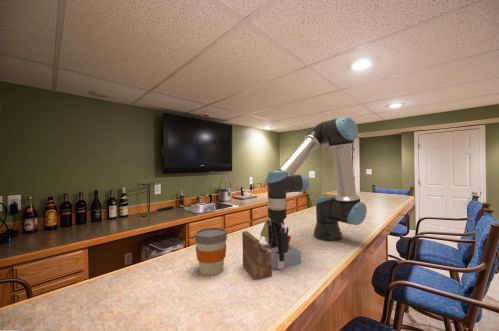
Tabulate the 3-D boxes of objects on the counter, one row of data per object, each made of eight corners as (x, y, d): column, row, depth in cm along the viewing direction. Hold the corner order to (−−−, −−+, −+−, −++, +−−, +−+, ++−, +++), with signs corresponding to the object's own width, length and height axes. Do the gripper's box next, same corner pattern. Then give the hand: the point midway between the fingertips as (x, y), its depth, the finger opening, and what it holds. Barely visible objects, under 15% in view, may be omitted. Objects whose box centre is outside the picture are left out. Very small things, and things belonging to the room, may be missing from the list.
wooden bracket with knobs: (258, 262, 89) (257, 229, 89) (271, 276, 78) (271, 238, 78) (242, 265, 86) (242, 231, 86) (254, 280, 75) (253, 240, 75)
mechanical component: (287, 264, 101) (303, 226, 100) (254, 247, 104) (269, 211, 103) (287, 257, 109) (302, 222, 107) (256, 242, 112) (271, 208, 111)
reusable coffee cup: (232, 264, 87) (231, 228, 87) (218, 280, 75) (217, 238, 75) (206, 261, 91) (205, 226, 91) (188, 275, 79) (188, 235, 80)
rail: (295, 259, 91) (294, 247, 91) (301, 263, 87) (300, 251, 87) (252, 269, 83) (252, 255, 83) (257, 273, 79) (256, 260, 79)
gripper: (259, 205, 92) (260, 259, 92) (279, 213, 76) (280, 278, 76) (275, 204, 95) (275, 256, 95) (297, 211, 79) (297, 274, 79)
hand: (277, 265), depth 85 cm, fingers open, 4 cm apart
